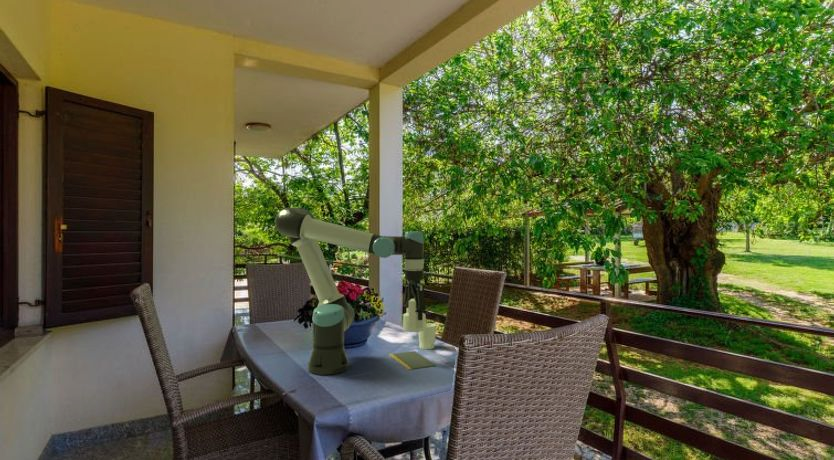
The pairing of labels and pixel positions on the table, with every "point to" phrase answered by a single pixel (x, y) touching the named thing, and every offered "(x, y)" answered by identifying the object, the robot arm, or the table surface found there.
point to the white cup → (427, 337)
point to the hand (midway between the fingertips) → (414, 325)
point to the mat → (412, 360)
